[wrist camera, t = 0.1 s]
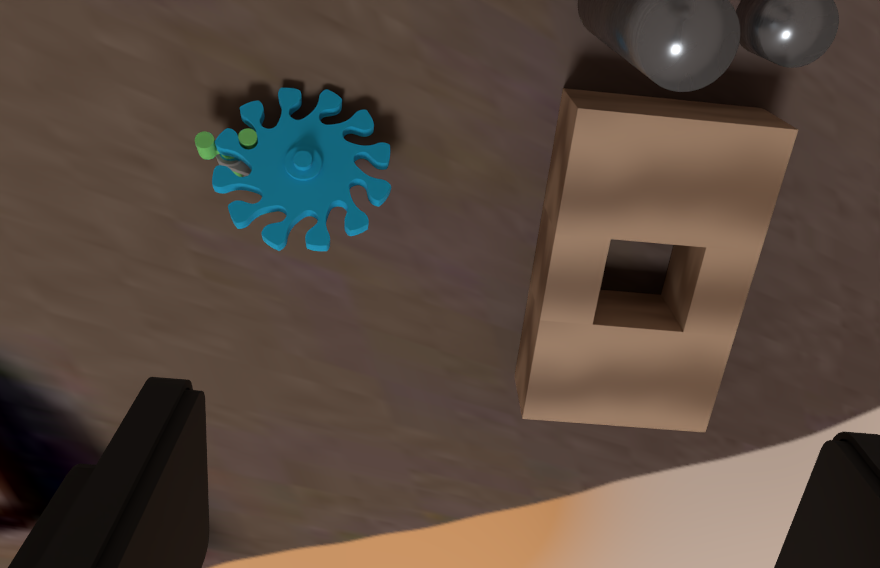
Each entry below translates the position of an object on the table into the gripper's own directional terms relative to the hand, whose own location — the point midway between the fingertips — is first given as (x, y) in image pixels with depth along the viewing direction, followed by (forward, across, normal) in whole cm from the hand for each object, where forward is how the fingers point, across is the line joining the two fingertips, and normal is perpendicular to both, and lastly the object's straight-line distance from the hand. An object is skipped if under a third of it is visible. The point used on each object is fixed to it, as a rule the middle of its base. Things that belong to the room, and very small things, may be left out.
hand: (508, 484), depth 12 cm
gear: (+37, +8, +6) cm, 38 cm away
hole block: (+37, -13, +11) cm, 40 cm away
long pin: (+37, -9, -4) cm, 38 cm away
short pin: (+37, -18, -4) cm, 41 cm away
